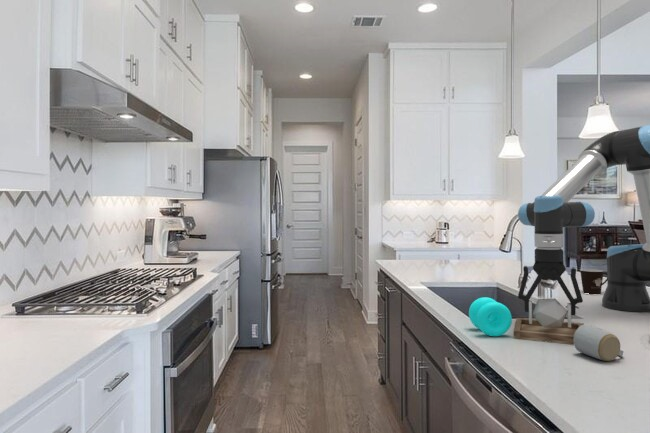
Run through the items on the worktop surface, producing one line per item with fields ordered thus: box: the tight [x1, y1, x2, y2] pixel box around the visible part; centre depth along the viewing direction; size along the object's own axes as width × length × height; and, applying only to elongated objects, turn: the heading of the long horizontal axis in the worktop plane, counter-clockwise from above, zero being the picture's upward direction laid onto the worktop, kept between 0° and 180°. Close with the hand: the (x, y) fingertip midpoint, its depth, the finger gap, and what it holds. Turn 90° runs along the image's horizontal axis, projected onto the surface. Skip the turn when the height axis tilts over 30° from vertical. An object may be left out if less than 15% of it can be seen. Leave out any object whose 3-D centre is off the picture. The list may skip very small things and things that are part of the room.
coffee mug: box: [579, 268, 607, 294], centre depth 186 cm, size 12×9×10 cm
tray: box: [513, 317, 585, 345], centre depth 127 cm, size 19×17×2 cm
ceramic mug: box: [573, 323, 624, 362], centre depth 107 cm, size 10×8×7 cm
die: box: [532, 298, 568, 327], centre depth 127 cm, size 8×9×10 cm
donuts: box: [468, 296, 513, 337], centre depth 130 cm, size 10×10×10 cm
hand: (549, 324), depth 127 cm, fingers closed on die, 9 cm apart
